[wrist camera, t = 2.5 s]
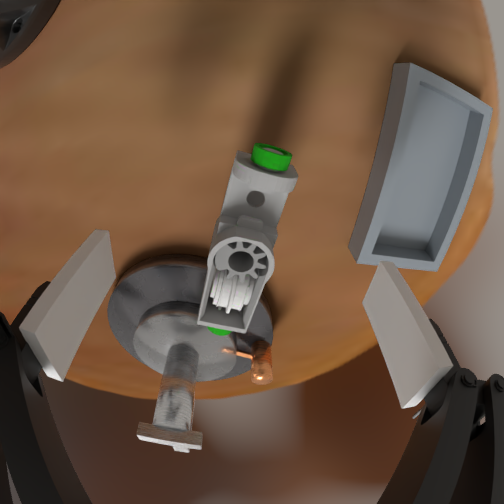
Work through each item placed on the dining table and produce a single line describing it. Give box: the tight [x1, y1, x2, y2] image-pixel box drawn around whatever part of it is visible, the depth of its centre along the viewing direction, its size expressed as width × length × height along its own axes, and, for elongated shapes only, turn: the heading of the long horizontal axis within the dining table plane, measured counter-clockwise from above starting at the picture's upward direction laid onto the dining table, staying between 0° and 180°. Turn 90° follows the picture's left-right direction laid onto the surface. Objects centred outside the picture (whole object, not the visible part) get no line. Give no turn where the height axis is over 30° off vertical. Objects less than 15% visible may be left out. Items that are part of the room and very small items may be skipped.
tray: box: [348, 63, 493, 272], centre depth 19 cm, size 16×9×2 cm, turn 173°
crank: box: [133, 302, 237, 452], centre depth 24 cm, size 15×10×11 cm, turn 173°
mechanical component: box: [197, 143, 298, 336], centre depth 17 cm, size 3×10×10 cm, turn 165°
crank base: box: [108, 254, 273, 385], centre depth 26 cm, size 17×17×6 cm
